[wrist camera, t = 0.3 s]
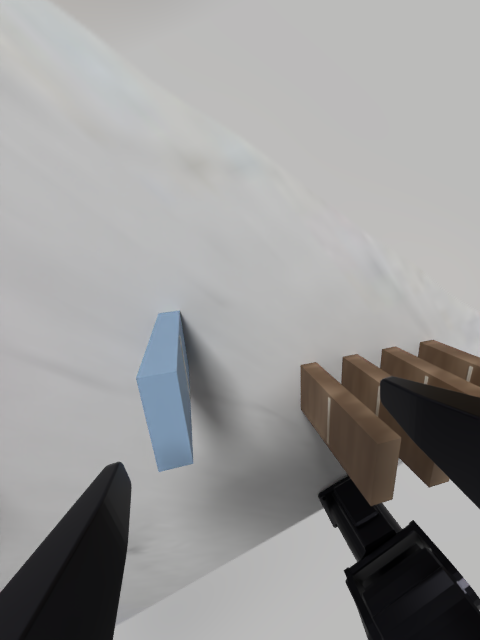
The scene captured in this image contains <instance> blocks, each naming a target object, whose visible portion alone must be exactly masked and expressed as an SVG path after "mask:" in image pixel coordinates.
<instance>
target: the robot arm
mask: <svg viewBox="0 0 480 640" xmlns="http://www.w3.org/2000/svg"><path fill="white" fill-rule="evenodd" d="M380 400H381V403H382V404H383V406H384V407H385V408H386V409H387V411H388V412H389V413H390V414H391V415H392V417H393V418H394V419H395V420H396V421H397V423H398V424H399V425H400V426H401V427H402V429H403V430H404V431H405V432H406V434H407V435H408V436H409V437H410V438H411V439H412V440H413V442H414V443H415V444H416V445H417V446H418V447H419V448H420V449H421V450H422V451H423V452H424V453H425V454H426V455H427V456H428V457H429V458H430V459H431V460H432V461H433V462H434V463H435V464H436V465H437V466H438V467H439V468H440V469H441V470H442V471H443V472H444V473H445V474H446V475H447V476H448V477H449V478H450V479H451V480H452V481H453V482H454V483H455V484H456V485H457V486H458V487H459V489H461V490H462V491H463V493H464V494H465V495H466V496H467V497H468V498H469V499H470V500H471V501H472V502H473V503H474V504H475V505H476V506H477V507H478V508H479V509H480V397H476V396H472V395H468V394H464V393H460V392H456V391H452V390H448V389H443V388H439V387H435V386H431V385H427V384H423V383H419V382H415V381H411V380H407V379H403V378H398V377H394V376H390V377H386V378H383V379H381V381H380ZM318 497H319V499H320V501H321V503H322V505H323V507H324V509H325V511H326V513H327V515H328V517H329V519H330V521H331V523H332V524H333V527H335V528H336V527H338V528H339V529H340V531H341V533H342V535H343V537H344V539H345V540H346V542H347V544H348V546H349V548H350V549H351V551H352V553H353V555H354V557H355V559H356V560H357V563H356V564H354V565H353V566H351V567H350V568H347V569H345V570H344V572H345V574H346V577H347V579H346V584H347V586H348V588H349V590H350V592H351V595H352V597H353V599H354V601H355V603H356V606H357V608H358V611H359V614H360V617H361V620H362V623H363V626H364V629H365V632H366V635H367V638H368V640H480V611H479V610H480V599H479V597H478V596H477V595H476V593H475V592H474V590H473V589H472V588H471V587H470V585H469V584H468V583H467V582H466V580H465V579H464V578H463V577H462V575H461V574H460V573H459V572H458V571H457V569H456V568H455V567H454V566H453V565H452V563H451V562H450V561H449V560H448V559H447V558H446V556H445V555H444V554H443V553H442V552H441V551H440V550H439V549H438V548H437V546H436V545H435V544H434V543H433V542H432V541H431V540H430V538H429V537H428V536H427V535H426V534H425V533H424V532H423V530H422V529H421V528H420V527H419V526H418V525H417V524H416V523H415V521H414V520H413V521H411V522H410V523H409V525H408V526H406V527H405V528H404V529H402V528H401V527H400V526H399V524H398V523H397V522H396V520H395V519H394V518H393V516H392V515H391V514H390V513H389V511H388V510H387V509H386V507H385V506H384V505H383V503H379V504H376V505H373V506H370V504H369V503H368V502H367V500H366V499H365V498H364V496H363V495H362V493H361V492H360V491H359V489H358V488H357V486H356V485H355V484H354V482H353V481H352V479H351V478H350V477H347V478H345V479H344V480H342V481H340V482H339V483H337V484H335V485H333V486H332V487H330V488H328V489H326V490H325V491H323V492H321V493H320V494H319V496H318ZM130 503H131V481H130V479H129V476H128V474H127V472H126V470H125V468H124V465H123V464H122V463H121V462H116V463H113V464H110V465H108V466H106V467H105V468H104V469H103V470H102V471H101V473H100V474H99V475H98V476H97V477H96V479H95V480H94V481H93V482H92V483H91V485H90V486H89V487H88V488H87V489H86V491H85V492H84V493H83V494H82V495H81V497H80V498H79V499H78V500H77V501H76V503H75V504H74V505H73V506H72V507H71V509H70V510H69V511H68V512H67V513H66V515H65V516H64V517H63V518H62V519H61V521H60V522H59V523H58V524H57V525H56V527H55V528H54V529H53V530H52V531H51V532H50V534H49V535H48V536H47V537H46V538H45V540H44V541H43V542H42V543H41V544H40V546H39V547H38V548H37V549H36V550H35V552H34V553H33V554H32V555H31V556H30V558H29V559H28V560H27V561H26V562H25V564H24V565H23V566H22V567H21V568H20V570H19V571H18V572H17V573H16V574H15V576H14V577H13V578H12V579H11V580H10V582H9V583H8V584H7V585H6V586H5V588H4V589H3V590H2V591H1V592H0V640H113V635H114V628H115V623H116V616H117V610H118V604H119V598H120V591H121V585H122V579H123V573H124V567H125V560H126V554H127V546H128V534H129V518H130Z"/></svg>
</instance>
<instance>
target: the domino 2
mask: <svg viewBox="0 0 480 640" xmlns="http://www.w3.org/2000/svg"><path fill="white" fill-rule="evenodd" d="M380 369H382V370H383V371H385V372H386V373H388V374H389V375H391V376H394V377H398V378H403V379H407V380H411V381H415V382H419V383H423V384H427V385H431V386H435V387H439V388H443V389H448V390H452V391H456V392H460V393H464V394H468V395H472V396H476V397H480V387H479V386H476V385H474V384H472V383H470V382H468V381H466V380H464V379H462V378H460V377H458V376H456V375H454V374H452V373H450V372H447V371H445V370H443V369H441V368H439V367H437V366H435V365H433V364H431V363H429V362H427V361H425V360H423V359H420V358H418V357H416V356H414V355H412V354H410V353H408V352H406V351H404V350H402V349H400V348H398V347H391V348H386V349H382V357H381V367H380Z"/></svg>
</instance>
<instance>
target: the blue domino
mask: <svg viewBox="0 0 480 640" xmlns="http://www.w3.org/2000/svg"><path fill="white" fill-rule="evenodd" d="M136 380H137V384H138V388H139V392H140V396H141V400H142V405H143V409H144V413H145V417H146V421H147V425H148V429H149V434H150V438H151V442H152V446H153V450H154V454H155V458H156V463H157V467H158V471H159V472H161V471H165V470H169V469H173V468H177V467H181V466H185V465H189V464H193V447H192V425H191V404H190V399H191V398H190V382H189V365H188V359H187V353H186V347H185V341H184V335H183V329H182V323H181V316H180V311H174V312H166V313H159V314H158V317H157V320H156V323H155V326H154V328H153V331H152V334H151V337H150V340H149V343H148V346H147V349H146V351H145V354H144V357H143V360H142V363H141V366H140V369H139V372H138V374H137V377H136Z"/></svg>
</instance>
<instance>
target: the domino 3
mask: <svg viewBox="0 0 480 640" xmlns="http://www.w3.org/2000/svg"><path fill="white" fill-rule="evenodd" d="M390 376H391V375H389V374H388V373H386V372H385V371H383V370H382V369H380V368H378V367H377V366H375V365H374V364H372V363H370V362H369V361H367V360H366V359H364V358H363V357H361V356H359V355H358V354H355V355H350V356H345V357H343V363H342V383H341V385H342V386H344V387H345V388H346V389H347V390H348V391H349V392H350V393H351V394H353V395H354V396H355V397H356V398H357V399H358V400H359V401H361V402H362V403H363V404H364V405H365V406H366V407H367V408H368V409H370V410H371V411H372V412H373V413H374V414H375V415H376V416H377V417H379V418H380V419H381V420H382V421H383V422H384V423H385V424H387V425H388V426H389V427H390V428H391V429H392V430H393V431H394V432H396V433H397V434H398V435H399V436H400V437H401V444H400V451H399V458H400V459H401V460H402V461H403V462H404V463H405V464H406V465H407V466H408V467H409V468H410V469H411V470H412V471H413V472H414V473H415V474H416V475H417V476H418V477H419V478H420V479H421V480H422V481H423V482H424V483H425V484H426V485H427V486H428V487H432V486H435V485H439V484H442V483H445V482H448V481H449V477H448V476H447V475H446V474H445V473H444V472H443V471H442V470H441V469H440V468H439V467H438V466H437V465H436V464H435V463H434V462H433V461H432V460H431V459H430V458H429V457H428V456H427V455H426V454H425V453H424V452H423V451H422V450H421V449H420V448H419V447H418V446H417V445H416V444H415V443H414V442H413V440H412V439H411V438H410V437H409V436H408V435H407V434H406V432H405V431H404V430H403V429H402V427H401V426H400V425H399V424H398V423H397V421H396V420H395V419H394V418H393V417H392V415H391V414H390V413H389V412H388V411H387V409H386V408H385V407H384V406H383V404H382V403H381V400H380V381H381V379H383V378H386V377H390Z"/></svg>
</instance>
